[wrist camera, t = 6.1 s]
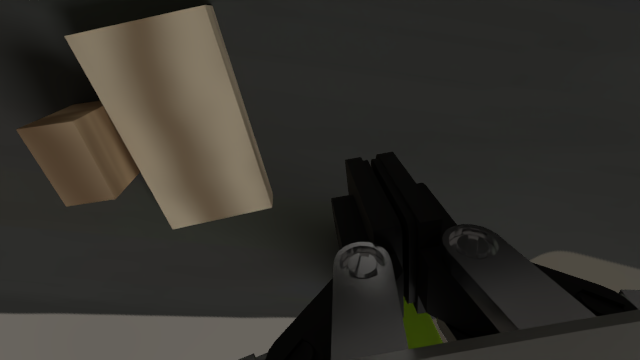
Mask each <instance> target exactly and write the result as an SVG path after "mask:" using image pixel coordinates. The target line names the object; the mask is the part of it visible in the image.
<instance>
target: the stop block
mask: <svg viewBox="0 0 640 360" xmlns="http://www.w3.org/2000/svg"><path fill="white" fill-rule="evenodd" d="M16 130H17V132H18V133H19V135H20V136H21V138H22V139H23V141H24V142H25V144H26V145H27V147H28V149H29V150H30V152H31V153H32V155H33V156H34V158H35V159H36V161H37V162H38V164H39V165H40V167H41V168H42V170H43V172H44V173H45V175H46V176H47V178H48V179H49V181H50V182H51V184H52V185H53V187H54V188H55V190H56V191H57V193H58V195H59V196H60V198H61V199H62V201H63V202H64V204H65V205H66V206H73V205H79V204H86V203H92V202H99V201H105V200H112V199H116V198H117V197H118V196H119V195H120V194H121V192H122V191H123V190H124V189H125V188H126V187H127V186H128V185H129V184H130V183H131V181H132V180H133V179H134V178H135V177H136V176H137V175H138V174H139V173H140V170H139V168H138V167H137V165H136V163H135V161H134V159H133V158H132V156H131V154H130V152H129V150H128V149H127V147H126V145H125V143H124V142H123V140H122V138H121V136H120V134H119V133H118V131H117V129H116V127H115V126H114V124H113V122H112V120H111V118H110V117H109V115H108V113H107V111H106V109H105V108H104V106H103V104H102V102H101V101H94V102H87V103H80V104H74V105H71V106H69V107H67V108H64V109H62V110H60V111H57V112H55V113H53V114H51V115H48V116H46V117H44V118H41V119H39V120H37V121H34V122H32V123H30V124H28V125H25V126H23V127H21V128H18V129H16Z"/></svg>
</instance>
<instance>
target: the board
mask: <svg viewBox="0 0 640 360" xmlns="http://www.w3.org/2000/svg"><path fill="white" fill-rule="evenodd" d="M65 38H66V40H67V42H68V44H69V45H70V47H71V49H72V51H73V52H74V54H75V56H76V58H77V60H78V61H79V63H80V65H81V67H82V68H83V70H84V72H85V74H86V76H87V77H88V79H89V81H90V83H91V85H92V86H93V88H94V90H95V92H96V93H97V95H98V97H99V99H100V101H101V102H102V104H103V106H104V108H105V109H106V111H107V113H108V115H109V117H110V118H111V120H112V122H113V124H114V126H115V127H116V129H117V131H118V133H119V134H120V136H121V138H122V140H123V142H124V143H125V145H126V147H127V149H128V150H129V152H130V154H131V156H132V158H133V159H134V161H135V163H136V165H137V167H138V168H139V170H140V172H141V174H142V175H143V177H144V179H145V181H146V183H147V184H148V186H149V188H150V190H151V191H152V193H153V195H154V197H155V199H156V200H157V202H158V204H159V206H160V207H161V209H162V211H163V213H164V215H165V216H166V218H167V220H168V222H169V224H170V225H171V227H172V229H177V228H181V227H186V226H190V225H195V224H200V223H204V222H209V221H213V220H218V219H222V218H227V217H231V216H236V215H241V214H245V213H250V212H254V211H259V210H263V209H268V208H272V202H273V193H272V190H271V186H270V183H269V180H268V177H267V174H266V171H265V168H264V165H263V162H262V159H261V155H260V152H259V149H258V146H257V143H256V140H255V137H254V134H253V131H252V128H251V124H250V121H249V118H248V115H247V112H246V109H245V106H244V103H243V100H242V97H241V93H240V90H239V87H238V84H237V81H236V78H235V75H234V72H233V69H232V66H231V62H230V59H229V56H228V53H227V50H226V47H225V44H224V41H223V38H222V35H221V31H220V28H219V25H218V22H217V19H216V16H215V13H214V10H213V7H212V6H211V5H202V6H198V7H193V8H189V9H184V10H180V11H175V12H171V13H166V14H162V15H157V16H153V17H148V18H144V19H139V20H135V21H130V22H126V23H121V24H117V25H112V26H108V27H104V28H99V29H95V30H90V31H86V32H81V33H77V34H72V35H68V36H65Z"/></svg>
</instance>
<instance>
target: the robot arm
mask: <svg viewBox="0 0 640 360" xmlns="http://www.w3.org/2000/svg"><path fill="white" fill-rule="evenodd" d="M345 164H346V174H347V182H348V191H349V195H348V196H342V197H336V198H331V202H332V209H333V216H334V222H335V228H336V233H337V239H338V243H339V248H340V250H339V252H338V253H337V254H336V256H335V259H334V263H333V279H332V280H331V281H330V282H329V283H328V284H327V285H326V286H325V287H324V288H323V289H322V291H321V292H320V293H319V294H318V295H317V296H316V297H315V298H314V299H313V300H312V301H311V303H310V304H309V305H308V306H307V307H306V308H305V309H304V310H303V311H302V312H301V314H300V315H299V316H298V317H297V318H296V319H295V320H294V321H293V323H291V324H290V326H289V327H288V328H287V329H286V330H285V331H284V332H283V333H282V334H281V336H280V337H279V338H278V339H277V340H276V341H275V342H274V344H273V345H272V346H271V348H270V349H269V351H268V353H265V354H263V355H261V356H258V357H255V355H254V354H251V355H249V356H246V357H244V358H242V359H239V360H640V290H620V292H619V294H618V293H616V292H615V291H613V290H611V289H608V288H606V287H603V286H601V285H598V284H595V283H592V282H589V281H586V280H583V279H580V278H577V277H574V276H571V275H568V274H565V273H562V272H559V271H556V270H553V269H550V268H547V267H544V266H540V265H538V264H535V263H532V262H530V261H529V260H528V259H527V258H526V257H524V256H523V255H522V254H521V253H519V252H518V251H517V250H516V249H515V248H513V247H512V246H511V245H510V244H509V243H507V242H506V241H505V240H504V239H503V238H501V237H500V236H499V235H498V234H496V233H495V232H493V231H491V230H489V229H487V228H484V227H482V226H477V225H473V224H461V225H457V224H456V223H455V222H454V221H453V219H452V218H451V217H450V215H449V214H448V213H447V212H446V210H445V209H444V208H443V207H442V205H441V204H440V203H439V201H438V200H437V199H436V198H435V196H434V195H433V194H432V193H431V191H430V190H429V189H428V187H427V186H426V185H425V184H424V183H418V184H416V183H415V181H414V180H413V179H412V177H411V176H410V174H409V173H408V172H407V170H406V169H405V168H404V166H403V165H402V164H401V162H400V161H399V160H398V158H397V157H396V155H395V154H394V153H393V152H389V153H383V154H377V155H376V159H372V160H371V166H370V164H369V162H368V160H365V161H363V160H362V158H361V157H359V158H353V159H347V160H345ZM404 298H405V300H406V302H407V303H408V304H410V303H413V305H414V307H415V309H416V312H417V314H421V313H428V314H430V315H432V316H434V317H436V321H437V324H438V327H439V329H440V331H441V332H442V334H443V335H444V337H445V338H446V340H447V341H448V342H447V343H441V344H435V345H430V346H424V347H419V348H413V349H409V348H408V343H407V338H406V333H405V328H404V323H403V317H404Z"/></svg>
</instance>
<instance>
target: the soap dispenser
mask: <svg viewBox="0 0 640 360" xmlns="http://www.w3.org/2000/svg"><path fill="white" fill-rule="evenodd" d="M403 323H404V328H405V333H406V338H407V343H408V348H409V349H413V348H419V347H424V346H430V345H435V344H441V343H443V342H442V340H441V338H440V335H439V333H438V331H437V329H436V327H435V325H434V323H433V321H432V319H431V317H430V314H428V313H421V314H417V312H416V309H415V307H414V305H413V303H410V304H408V303H407V302H406V300H405V298H404V317H403Z"/></svg>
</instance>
